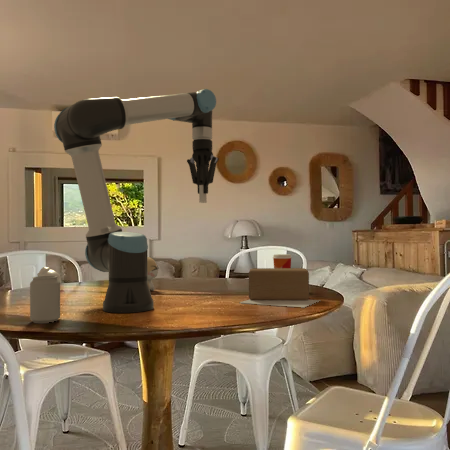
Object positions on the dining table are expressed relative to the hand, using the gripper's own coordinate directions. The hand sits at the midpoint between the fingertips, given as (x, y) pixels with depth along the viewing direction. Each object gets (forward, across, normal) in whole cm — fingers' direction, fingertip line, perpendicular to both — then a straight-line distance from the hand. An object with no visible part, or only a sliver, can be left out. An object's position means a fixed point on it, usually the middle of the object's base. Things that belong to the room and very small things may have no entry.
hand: (202, 202), depth 179 cm
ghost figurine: (+35, +60, +21) cm, 72 cm away
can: (+35, +9, +65) cm, 74 cm away
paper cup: (+35, -22, -24) cm, 48 cm away
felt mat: (+34, -34, +7) cm, 49 cm away
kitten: (+35, +26, +2) cm, 43 cm away
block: (+29, -21, +5) cm, 36 cm away
